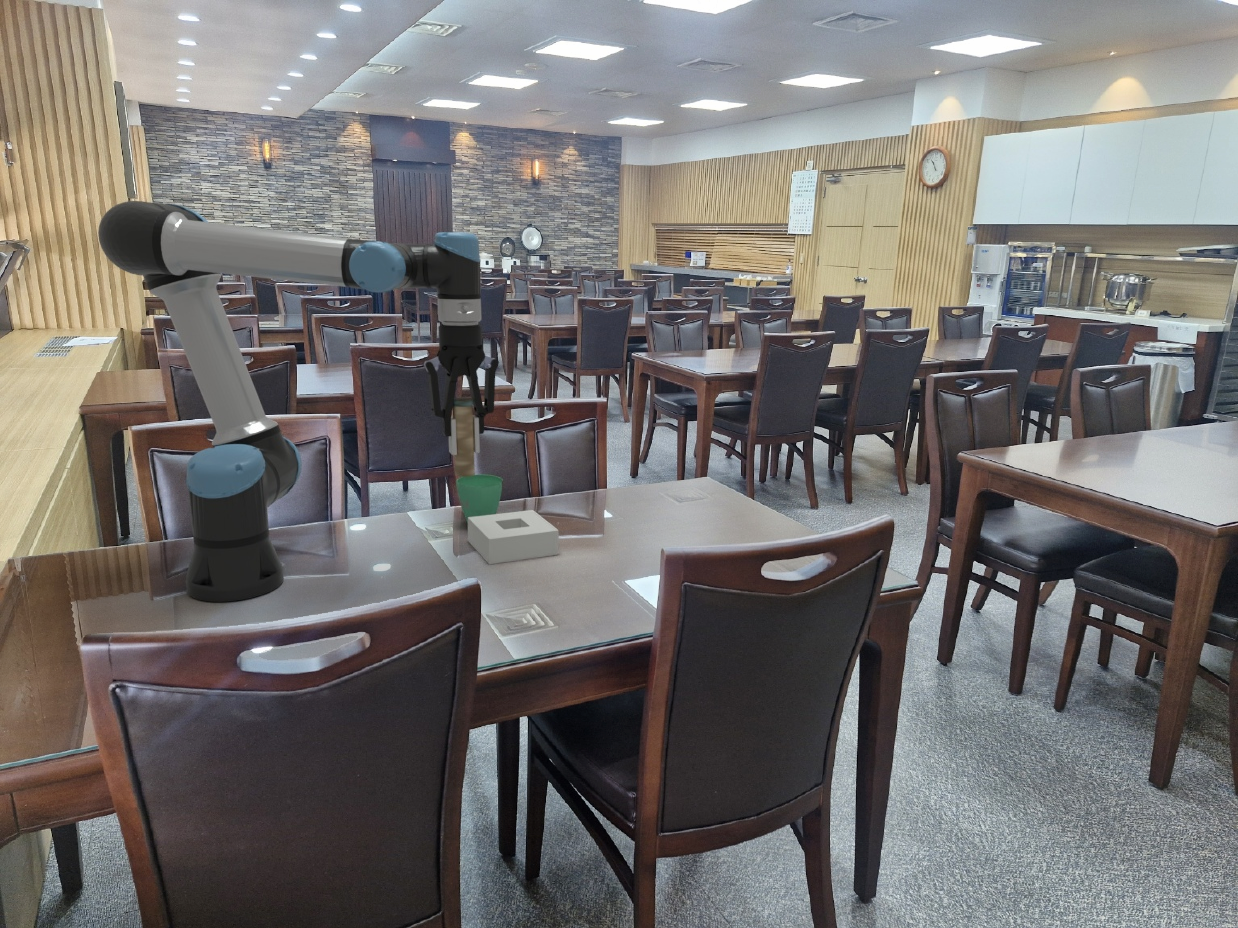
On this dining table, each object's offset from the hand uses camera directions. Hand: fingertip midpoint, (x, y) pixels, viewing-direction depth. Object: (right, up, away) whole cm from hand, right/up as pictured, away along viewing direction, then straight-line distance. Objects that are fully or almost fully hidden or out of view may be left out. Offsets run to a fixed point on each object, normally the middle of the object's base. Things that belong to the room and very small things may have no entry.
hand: (464, 452), depth 149 cm
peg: (0, -4, +1) cm, 4 cm away
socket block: (+7, -19, +13) cm, 24 cm away
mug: (-3, -15, +28) cm, 31 cm away
